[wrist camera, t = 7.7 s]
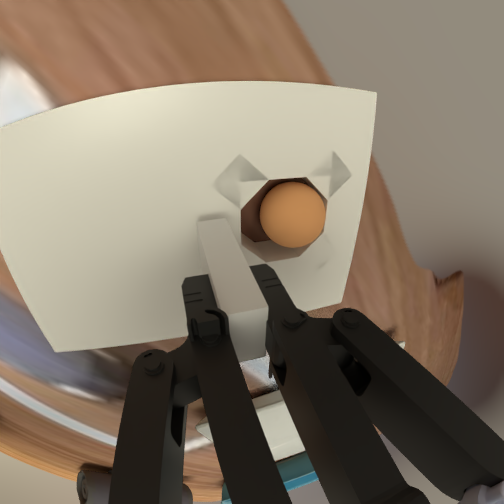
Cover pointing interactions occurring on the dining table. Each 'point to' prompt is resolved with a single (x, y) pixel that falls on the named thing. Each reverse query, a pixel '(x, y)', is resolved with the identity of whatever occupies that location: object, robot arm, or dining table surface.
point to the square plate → (273, 424)
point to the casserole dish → (288, 474)
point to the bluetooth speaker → (107, 488)
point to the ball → (292, 214)
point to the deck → (172, 199)
